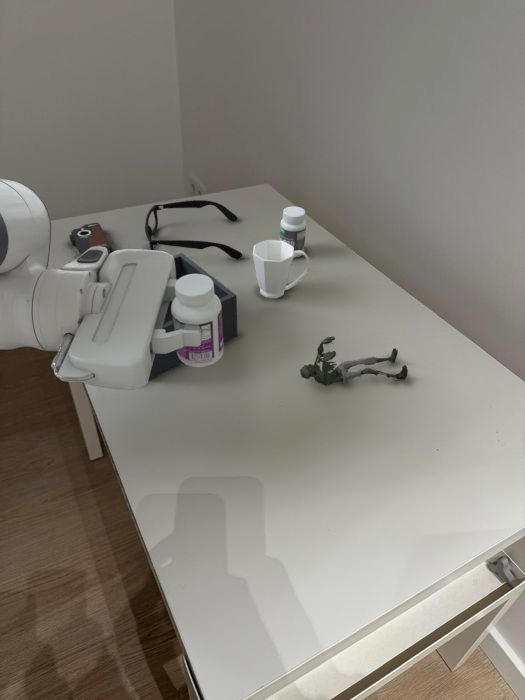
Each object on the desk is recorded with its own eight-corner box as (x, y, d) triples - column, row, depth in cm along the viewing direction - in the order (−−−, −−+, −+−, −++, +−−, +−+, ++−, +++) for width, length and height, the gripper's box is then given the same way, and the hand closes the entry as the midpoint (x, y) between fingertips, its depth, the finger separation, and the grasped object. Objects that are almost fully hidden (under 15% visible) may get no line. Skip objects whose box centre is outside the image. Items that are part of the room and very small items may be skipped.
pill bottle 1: (195, 332, 62) (189, 263, 56) (232, 348, 60) (230, 279, 54) (167, 358, 58) (157, 288, 52) (205, 375, 56) (199, 305, 50)
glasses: (151, 224, 106) (147, 202, 103) (237, 218, 107) (235, 195, 104) (146, 268, 94) (141, 244, 91) (243, 261, 95) (241, 237, 91)
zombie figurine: (416, 346, 68) (306, 363, 65) (405, 382, 72) (303, 398, 70) (399, 320, 72) (295, 335, 69) (391, 356, 76) (293, 370, 74)
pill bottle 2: (273, 251, 98) (275, 210, 92) (292, 243, 100) (294, 202, 94) (290, 261, 95) (293, 220, 89) (309, 253, 97) (312, 212, 92)
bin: (148, 381, 72) (140, 338, 66) (100, 328, 80) (90, 287, 75) (237, 336, 79) (236, 295, 74) (185, 292, 87) (181, 252, 82)
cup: (246, 283, 90) (246, 242, 84) (300, 274, 92) (303, 233, 87) (258, 306, 85) (259, 264, 79) (315, 296, 87) (319, 255, 82)
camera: (75, 252, 91) (64, 226, 99) (80, 265, 93) (69, 239, 101) (110, 242, 93) (97, 217, 101) (114, 255, 95) (101, 230, 103)
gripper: (35, 354, 46) (190, 359, 46) (96, 238, 61) (212, 242, 61) (53, 402, 50) (195, 406, 50) (106, 282, 65) (215, 286, 65)
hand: (205, 315), depth 56 cm, fingers closed on pill bottle 1, 5 cm apart
